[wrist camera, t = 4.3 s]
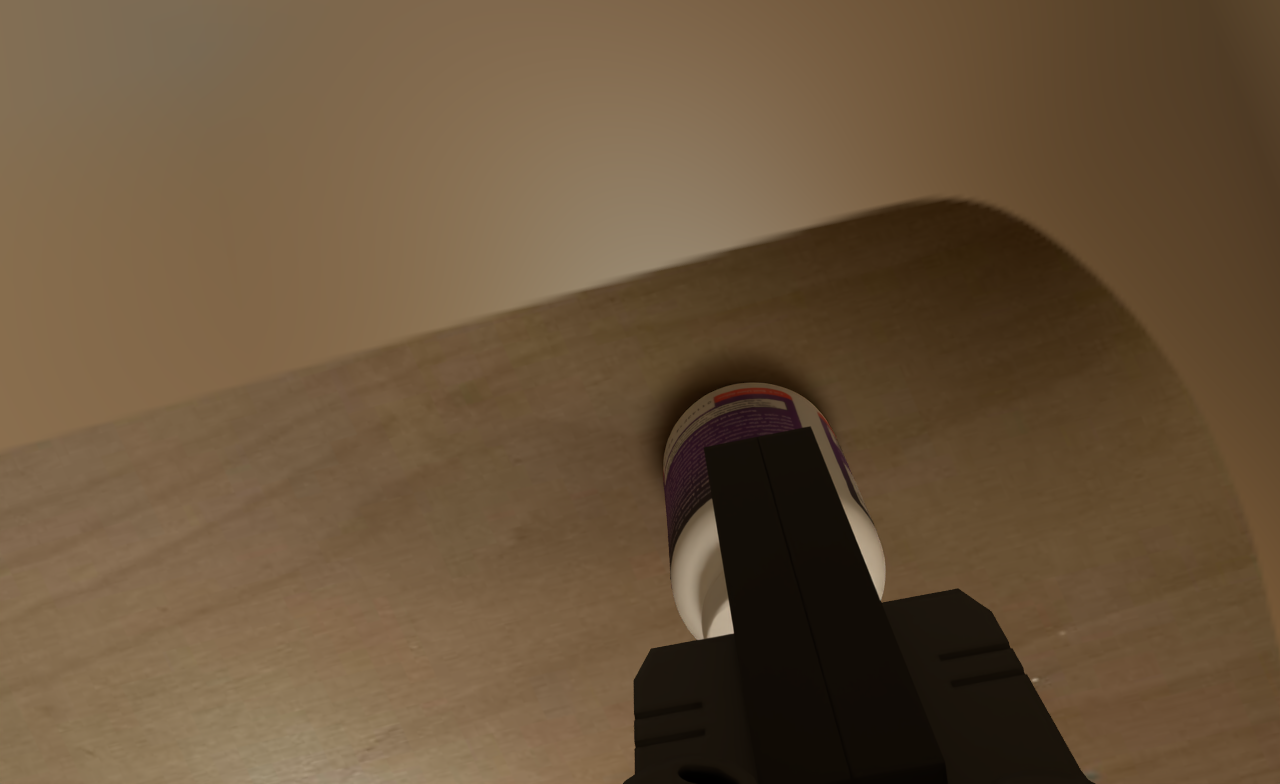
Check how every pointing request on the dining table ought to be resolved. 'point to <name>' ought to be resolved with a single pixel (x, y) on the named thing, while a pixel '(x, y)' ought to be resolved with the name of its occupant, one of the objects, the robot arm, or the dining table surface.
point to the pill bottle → (691, 502)
